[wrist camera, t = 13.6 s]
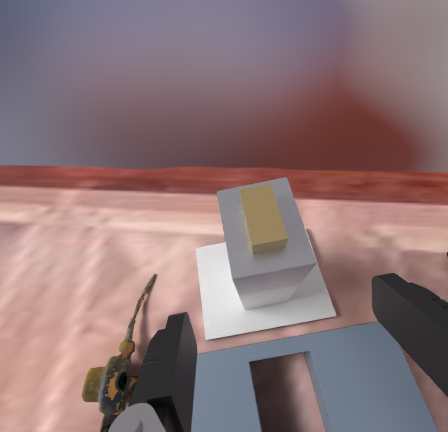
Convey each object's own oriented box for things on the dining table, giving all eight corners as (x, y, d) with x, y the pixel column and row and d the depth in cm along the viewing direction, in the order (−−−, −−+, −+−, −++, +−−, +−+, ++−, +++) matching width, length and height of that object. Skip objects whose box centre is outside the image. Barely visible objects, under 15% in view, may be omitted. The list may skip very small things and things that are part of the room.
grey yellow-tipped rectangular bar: (244, 309, 23) (229, 272, 10) (235, 259, 25) (213, 178, 13) (286, 302, 23) (323, 254, 10) (272, 252, 25) (289, 163, 12)
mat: (207, 340, 22) (205, 340, 22) (196, 250, 27) (195, 248, 26) (334, 316, 22) (336, 315, 22) (303, 228, 26) (304, 226, 26)
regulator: (127, 275, 27) (62, 462, 18) (124, 261, 24) (43, 477, 15) (192, 287, 28) (160, 469, 19) (197, 274, 25) (162, 484, 16)
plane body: (183, 478, 18) (170, 501, 16) (176, 358, 22) (165, 360, 19) (420, 438, 18) (449, 456, 15) (372, 322, 21) (388, 319, 19)
